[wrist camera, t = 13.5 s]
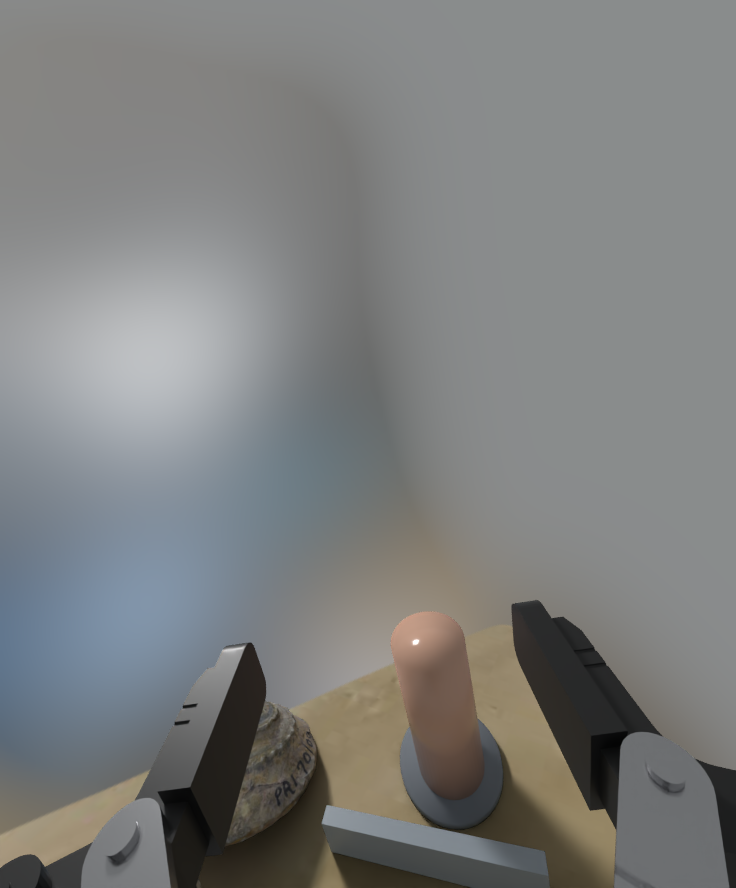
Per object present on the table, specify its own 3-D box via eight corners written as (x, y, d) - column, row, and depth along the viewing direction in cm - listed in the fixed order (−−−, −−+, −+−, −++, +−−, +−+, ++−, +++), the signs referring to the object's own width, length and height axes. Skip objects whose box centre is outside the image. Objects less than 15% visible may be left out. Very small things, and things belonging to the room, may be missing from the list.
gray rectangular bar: (331, 852, 24) (321, 823, 23) (336, 832, 25) (326, 804, 24) (552, 908, 20) (548, 876, 19) (548, 882, 21) (544, 851, 20)
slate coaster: (393, 816, 25) (391, 811, 25) (408, 707, 33) (407, 702, 32) (509, 841, 23) (508, 835, 23) (497, 716, 30) (497, 711, 30)
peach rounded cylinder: (414, 793, 26) (384, 669, 23) (421, 721, 31) (397, 610, 27) (487, 806, 24) (465, 675, 21) (482, 727, 29) (463, 611, 26)
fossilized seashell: (337, 792, 26) (279, 736, 24) (216, 951, 22) (138, 897, 21) (302, 702, 36) (259, 658, 34) (214, 802, 32) (161, 757, 30)
